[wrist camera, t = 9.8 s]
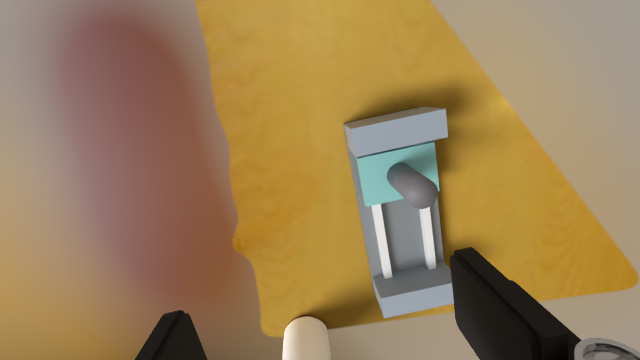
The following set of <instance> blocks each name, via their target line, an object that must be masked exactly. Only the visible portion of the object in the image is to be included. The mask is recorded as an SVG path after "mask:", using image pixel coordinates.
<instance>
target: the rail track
mask: <svg viewBox="0 0 640 360" xmlns="http://www.w3.org/2000/svg"><path fill="white" fill-rule="evenodd" d="M343 126H344V132H345V137H346V143H347V148H348V154H349V159H350V165H351V170H352V175H353V181H354V186H355V192H356V197H357V203H358V208H359V214H360V219H361V224H362V230H363V235H364V241H365V246H366V252H367V257H368V263H369V268H370V273H371V279H372V284H373V289H374V292H375V295H376V297H377V300H378V303H379V305H380V308H381V311H382V314H383V316H384V318H389V317H393V316H398V315H402V314H407V313H412V312H416V311H421V310H425V309H430V308H435V307H439V306H444V305H448V304H453V303H454V299H453V289H452V278H451V269H450V268H449V267H448V266H447V265H446V263H445V262H444V256H443V247H442V237H441V227H440V218H439V208H438V198H437V199H436V201H435V202H434V204H433V205H431V206H430V207H428V208H425V209H417V208H414V207H413V206H411V205H410V204H409V203H408V202H407V201H406V200H405V199H400V200H396V201H391V202H386V203H382V204H377V205H372V206H368V207H366V206H365V204H364V199H363V194H362V188H361V182H360V177H359V171H358V165H357V160H356V157H359V156H363V155H368V154H372V153H377V152H382V151H386V150H391V149H396V148H400V147H405V146H409V145H414V144H419V143H423V142H428V141H433V140H437V139H442V138H446V137H448V129H447V118H446V109H445V108H435V107H425V106H422V107H418V108H413V109H409V110H404V111H399V112H395V113H390V114H386V115H381V116H376V117H372V118H367V119H362V120H358V121H353V122H349V123H344V124H343Z"/></svg>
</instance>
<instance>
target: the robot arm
mask: <svg viewBox="0 0 640 360" xmlns="http://www.w3.org/2000/svg"><path fill="white" fill-rule="evenodd" d="M450 268H451V278H452V289H453V299H454V309H455V319H456V322H457V325H458V327H459V329H460V331H461V332H462V333H463V335H464V337H465V338H466V340H467V341H468V343H469V344H470V346H471V347H472V349H473V350H474V351H475V353H476V354H477V356H478V357H479V359H480V360H640V352H638V351H637V350H635V349H633V348H631V347H629V346H626V345H625V344H622V343H619V342H616V341H613V340H607V339H601V338H589V339H586V340H580V339H579V338H578V337H577V336H576V335H575V334H574V333H572V332H571V331H570V330H569V329H568V328H567V327H566V326H564V325H563V324H562V323H561V322H560V321H559V320H558V319H557V318H555V317H554V316H553V315H552V314H551V313H550V312H549V311H547V310H546V309H545V308H544V307H543V306H542V305H540V304H539V303H538V302H537V301H536V300H535V299H534V298H533V297H531V296H530V295H529V294H528V293H527V292H526V291H525V290H523V289H522V288H521V287H520V286H519V285H518V284H517V283H515V282H514V281H511V280H508V279H507V278H506V277H505V276H504V275H503V274H502V273H500V272H499V271H498V270H497V269H496V268H495V267H494V266H493V265H492V264H490V263H489V262H488V261H487V260H486V259H485V258H484V257H483V256H481V255H480V254H479V253H478V252H477V251H476V250H475V249H474V248H472V247H469V248H465V249H460V250H455V251H454V255H453V256H450ZM135 360H207V358H206V355H205V353H204V350H203V348H202V345H201V342H200V340H199V337H198V335H197V332H196V330H195V328H194V325H193V322H192V320H191V317H190V315H189V314H188V313H184V312H183V311H182V310H179V311H174V312H170V313H166V314H164V315H163V316H162V317H161V319H160V320H159V322H158V323H157V325H156V327H155V328H154V330H153V331H152V333H151V335H150V336H149V338H148V339H147V341H146V343H145V344H144V346H143V348H142V349H141V351H140V352H139V354H138V355H137V357H136V359H135Z"/></svg>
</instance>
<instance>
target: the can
mask: <svg viewBox="0 0 640 360" xmlns="http://www.w3.org/2000/svg"><path fill="white" fill-rule="evenodd" d="M282 360H331V354H330V346H329V338H328V331H327V328H326V326H325V324H324V323H323V322H322V321H320V320H319V319H317V318H314V317H309V316H304V317H300V318H297V319H295V320H293V321H292V322H291V323H290V324H289V325H288V326H287V327H286V330H285V333H284V344H283V357H282Z"/></svg>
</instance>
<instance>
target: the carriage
mask: <svg viewBox="0 0 640 360" xmlns="http://www.w3.org/2000/svg"><path fill="white" fill-rule="evenodd" d="M356 160H357V165H358V171H359V177H360V182H361V188H362V194H363V199H364V204H365V206H366V207H368V206H372V205H377V204H382V203H386V202H391V201H396V200H400V199H405V200H406V201H407V202H408V203H409V204H410V205H411V206H413V207H414V208H417V209H425V208H428V207H430V206H431V205H433V204H434V202H435V201H436V199H437V197H438V191H440V190H439V180H438V170H437V160H436V150H435V142H433V141H428V142H423V143H419V144H414V145H409V146H405V147H400V148H396V149H391V150H386V151H382V152H377V153H372V154H368V155H363V156H359V157H356Z"/></svg>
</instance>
